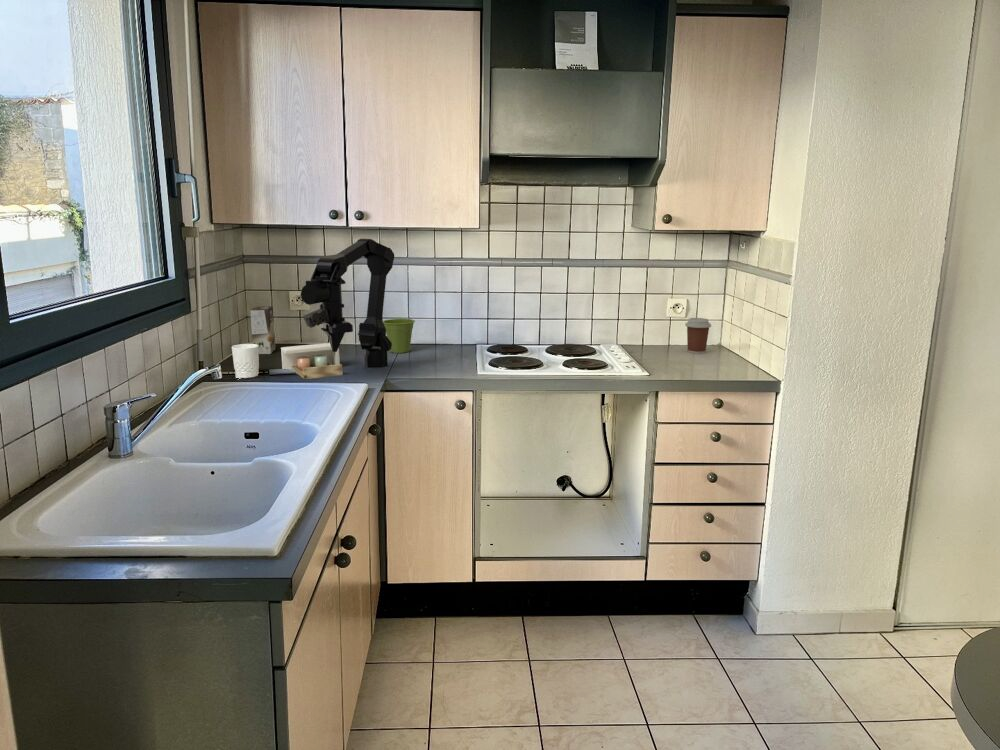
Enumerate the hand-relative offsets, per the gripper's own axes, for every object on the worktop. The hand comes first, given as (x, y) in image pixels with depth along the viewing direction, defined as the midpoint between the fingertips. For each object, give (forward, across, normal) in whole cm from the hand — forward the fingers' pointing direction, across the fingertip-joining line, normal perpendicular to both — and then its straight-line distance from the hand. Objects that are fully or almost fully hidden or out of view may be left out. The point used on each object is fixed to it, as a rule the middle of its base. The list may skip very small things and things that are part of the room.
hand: (334, 351), depth 227 cm
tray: (+9, -12, -2) cm, 15 cm away
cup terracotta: (+8, -16, -5) cm, 19 cm away
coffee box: (+10, -56, -9) cm, 58 cm away
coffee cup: (+10, +18, +130) cm, 131 cm away
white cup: (+9, -18, -23) cm, 31 cm away
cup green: (+8, -16, 0) cm, 19 cm away
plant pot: (+10, -34, +34) cm, 49 cm away
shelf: (+9, -18, -3) cm, 20 cm away
